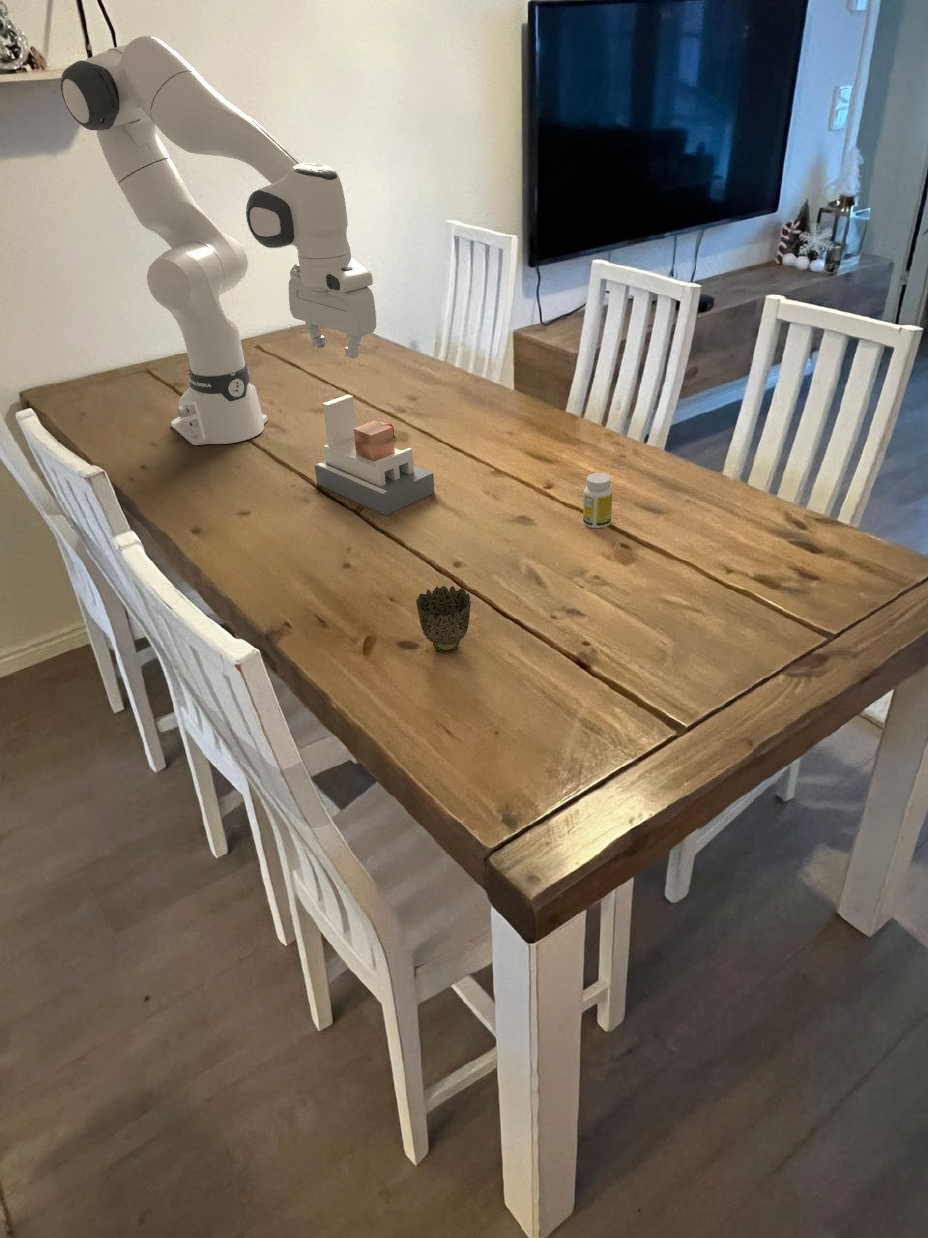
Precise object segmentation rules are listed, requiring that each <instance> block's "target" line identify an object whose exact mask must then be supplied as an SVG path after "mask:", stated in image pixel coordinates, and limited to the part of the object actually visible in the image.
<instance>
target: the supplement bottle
mask: <svg viewBox="0 0 928 1238" xmlns="http://www.w3.org/2000/svg"><path fill="white" fill-rule="evenodd" d="M611 483H612V482H611V476H610V475H608V474H607V473H603V472H595V473H591V474H588V475H587V477H586V481H585V485H586V486H585V487H584V489H583V509H582V511H583V513H582V519H583V520H582V522H583V524H584V525H585V526H586V527H588V528H592V529H603V528H606V527H608V526H610V525H611V522H612V506H613V489H612V487H611Z"/></svg>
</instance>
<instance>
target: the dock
mask: <svg viewBox="0 0 928 1238" xmlns="http://www.w3.org/2000/svg"><path fill="white" fill-rule="evenodd" d="M413 468H414V472H413V473H411V474H407V473H405V472H402V471H400V470H399V472H400V478H399V479H397V480H393V479H391V478H388V477H386V476H385V481H386V485H383V486H381V487H380V486H378V485H376V484H374V483H371V482H369V481H367V480H364V479H362V478H360V477H358V476H355V475H353V474H351V473H348V472H346V471H344V470H341V469H339V468H337V467H335V466H332V465H330V464H328V463H326V459H325V460H323V461H321V462H318V463H316V464H314V470H315V471H314V472H315V478H316V479H315V480H316V485H318V486H320V485H321V487H322V486H323V488H324V489H327V490H329V489H330V490H329V491H331V490H332V492H333V491H334V493H336V494H338V495H341V496H343V497H345V498H347V499H349V500H350V501H353V502H356V503H357V502H358V504H360V505H362V506H364V507H366V508H369V509H371V510H373V511H375V512H376V513H380V514H381V515H384V516H388V515H390V514H392V513H394V512H396V511H398V510H400V509H403V508H405V507H407V506H409V505H411V504H413V503H415V502H419V500H422V499H424V498H426V497H429V496H430V495H433V494H435V478H434V472H432V471H430V470H427V469H425V468H423V467H420V466H417V465H414V464H413Z"/></svg>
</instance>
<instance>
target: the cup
mask: <svg viewBox="0 0 928 1238" xmlns="http://www.w3.org/2000/svg"><path fill="white" fill-rule="evenodd" d="M470 599H471V596H470V593H467V591H466V590H465V589H464V588H463V587H460V588H459V589H458V590H456V588H455V586H453V585H451V586H450V588H449V589H448V587H447V586H445V585H443V586H441V587H438V586H435V588H434V589H433V591H431V590H430V589H429V588H427V590H426V593H421V592H420V593H419V594H418V598H417V599H416V600H415V603H416V607H417V612H418V613H417V614H418V617H419V623H420V627H421V630H422V632H423V634H424V637H426V639H427V640H428V641H429V642H431V643H432V646H433V647H434V649H435V650H436V651H437V652H439V651H440V652H439V653H442V652H450V653H453V652H455V651H457V649H458V648H459V645H460V641H462V639H464V637H465V636H466V634H467V632H468V628H469V624H470V616H471V606H472V605H471V604H472V601H471V600H470ZM454 650H455V651H454ZM452 651H453V652H452Z"/></svg>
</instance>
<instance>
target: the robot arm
mask: <svg viewBox="0 0 928 1238" xmlns="http://www.w3.org/2000/svg"><path fill="white" fill-rule="evenodd" d="M60 90H61V95H62V99H63V101H64V104H65V107H66V108H67V110H68V111H69V114H70V115H71V116H72V117H73V119H74V120H75V121H76V122H77V123H78V124H79V125H80V126H82V127H83V128H84V129H87V130H89V131H96V135H97V138H98V139H97V140H98V141H99V145H100V148H101V149H102V150H101V151H102V153H103V155H104V157H105V160H106V162H107V165H108V166H109V168H110V171H111V173H112V175H113V178H115V180H116V183H117V185H119V187H120V190H121V191H122V193H123V195H124V196H125V198H126V200H127V202H128V204H129V205H130V208H131V209H132V212H133V213H134V214H135V216H136V219H137V220H138V221H139V223H140V224H141V225H142V226H143V227H144V228H145V229H147V230H149V231H151V232H153V233H155V234H157V236H159V237H160V238H162V239H163V240H164V242H165V243H166V244H168V246H169V247H170V249H168V250H166V251H164V252H162V254H161V255H159V256H158V257H157V258H156V259H155V260H153V262H152V263H151V264H150V265H149V267H148V269H147V273H146V281H147V286H148V289H149V292H150V294H151V295H152V297H153V298H154V299H155V301H156V302H157V303H158V304H159V305H160V306H162V308H165V309H167V310H168V311H169V312H170V314H171V315H172V316H173V318H174V319H175V322H176V323H177V325H178V326H179V327H178V328H179V329H180V332H181V333H182V337H183V342H184V344H185V348H186V353H187V357H188V360H189V365H190V366H189V367H190V368H189V369H187V370H186V372H188V373H187V374H186V375H187V376H189V377H188V380H189V387H188V388H187V390H186V391H185V392H184V393H183V394H182V395H181V397H179V398H178V407H177V409H176V411H177V414H178V417H176V418H174V419H173V420H171V422H170V423H171V428H173V429H174V430H175V431H176V432H177V433H179V435H181V436H182V437H184V439H185V440H187V441H188V442H189V443H190V444H191V445H194V446H199V445H200V446H201V445H202V446H203V445H225V444H233V443H234V444H235V443H239V442H243V441H247V440H251V439H253V438H254V437H256V436H258V435H260V434H261V433H262V432H263V431H264V430H265V429H264V428H265V424H266V422H268V420H269V418H268V416H267V414H264V413H263V412H262V407H261V404H260V400H259V396H258V393H257V388H256V387H255V385H253V384H252V383H250V382H251V377H250V372H249V371H250V370H249V367H248V364H247V363H246V362H245V358H244V351H243V346H242V340H241V335H240V330H239V327H238V325H236V323H234V322H233V321H231V320H230V319H228V317H227V316H226V315H225V312H224V310H223V308H222V305H221V303H220V296H221V295H223V294H225V293H227V292H228V291H231V290H233V289H234V288H235V287H236V286H237V285H238V284H239V283H240V281H242V279H244V277H245V276H246V273H247V271H248V267H249V266H248V265H249V264H248V263H249V261H248V256H247V254H246V251H245V249H244V247H243V246H242V244H241V243H240V242H239V241H238V240H237V239H236V238H234V237H233V236H230V235H229V234H227V233H225V232H224V231H222V230H221V229H220V228H219V227H218V226H217V225H216V224H215V223H214V222H213V221H212V219H210V217H208V216H207V214H206V213H205V211H203V209H202V208H201V207H200V205H199V204H198V203H197V202H196V200H195V199H194V197H193V196H192V194H191V192H190V191H189V189H188V187H187V185H186V183H185V182H184V180H183V178H182V177H181V174H180V173H179V170H178V169H177V167H176V165H175V164H174V162H173V160H172V158H171V156H170V154H169V152H168V150H167V149H166V147H165V146H164V143H163V142H162V140H161V138H160V136H159V134H158V132H157V128H158V129H159V131H161V133H162V134H163V135H164V137H166V138H167V139H168V140H170V142H172V143H173V144H174V145H176V146H178V147H179V148H180V149H181V150H183V151H185V152H187V153H190V154H195V155H205V156H213V157H214V156H215V157H222V158H223V157H224V158H230V159H233V160H237V161H240V162H243V163H246V164H247V165H248V166H251V167H252V168H254V169H255V170H256V171H257V172H258V173H259V174H260V175H261V176H262V177H263V178H265V179H266V180H267V182H269V185H266V186H263V187H261V188H259V189H257V190H255V191H253V192H252V193H251V194H250V195H249V196H248V199H247V203H246V207H245V217H246V223H247V225H248V228H249V231H250V233H251V234H252V236H253V237H254V239H255V240H256V241H257V242H258V243H259V244H261V245H262V246H263V247H266V248H269V249H282V248H286V247H289V246H293V247H295V248H296V250H297V258H298V264H297V263H296V264H294V265H293V266H292V267H291V269H290V271H289V276H290V277H289V278H290V279H289V281H288V301H289V311H290V314H291V317H293V318H294V319H295V320H299V321H302V322H304V323H305V328H306V330H307V332H308V334H309V335H310V337H311V342H312V346H313V347H314V348H317V349H321V348H324V347H326V342H325V341H326V340H325V339H326V338H325V336H324V335H322V333H321V330H320V327H322V328H327V329H330V330H333V331H336V332H340V333H342V334H343V333H344V334H346V339H347V340H348V345H347V346H345V347H344V352H345V354H344V355H345V357H346V358H349V359H352V360H353V359H356V358H358V357H359V348H358V347H359V345H360V343H361V341H362V337H366V336H370V335H372V334H374V332H375V331H376V328H377V313H376V304H375V303H376V302H375V298H374V294H373V292H372V290H371V288H370V287H369V286H372V285H373V282H374V281H373V275H372V273H371V271H369V270H368V269H366V268H365V267H364V266H362V264H360V263H359V262H358V261H356V259H355V258H353V257H352V253H351V252H352V251H351V248H350V245H349V241H348V237H347V231H348V225H349V224H348V213H347V211H348V210H347V205H346V199H345V194H344V189H343V185H342V182H341V179H340V177H339V174H338V172H337V171H336V170H334V169H333V168H332V167H330V166H328V165H324V164H322V163H309V162H307V163H306V162H304V163H303V162H301V161H300V160H299V159H298V158H297V157H296V156H295V155H294V154H293V153H292V152H290V151H289V149H287V147H285V146H284V145H283V144H282V143H281V142H280V141H278V140H277V139H276V137H275V136H273V135H272V134H271V133H270V132H269V131H268V130H266V129H265V128H264V127H263V126H262V125H261V124H260V123H259V122H257V121H256V120H255V119H253V118H252V117H251V116H249V115H248V114H246V113H245V112H244V111H241V110H240V109H239V108H238V107H236V106H234V104H232V103H230V102H229V101H228V100H226V99H225V98H224V97H223V96H222V95H221V94H219V92H217V91H216V90H215V89H214V88H213V87H212V86H211V85H210V84H208V82H207V81H205V79H204V78H203V77H202V76H201V75H200V74H199V73H198V72H197V70H195V68H194V67H193V66H192V65H191V64H189V62H187V60H186V59H184V58H183V57H182V56H181V55H180V54H179V53H177V51H175V50H174V49H172V47H170V46H169V45H168V44H167V43H165V42H164V41H162V40H161V39H159V38H157V37H155V36H152V35H141V36H139V37H136V38H134V39H133V40H131V41H130V42H129V43H128V44H125V45H121V46H119V45H118V46H116V47H111V48H109V49H107V50H106V51H103V52H100V53H98V54H94V55H92V56H91V57H89V58H87V59H85V60H77V61H76V62H74V63H72V64H71V65H69V66H68V67H67V68H65V69H64V70H63V71H62V74H61V79H60ZM156 127H157V128H156ZM319 326H320V327H319Z"/></svg>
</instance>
